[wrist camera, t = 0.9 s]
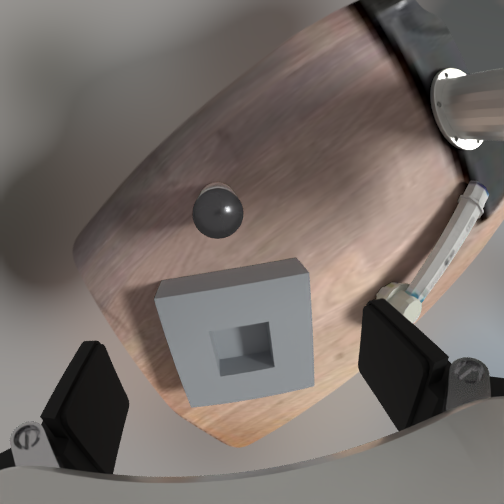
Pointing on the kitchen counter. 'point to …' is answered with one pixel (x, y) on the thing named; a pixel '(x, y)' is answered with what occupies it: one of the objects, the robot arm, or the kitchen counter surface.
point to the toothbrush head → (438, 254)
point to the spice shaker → (217, 211)
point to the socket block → (240, 331)
